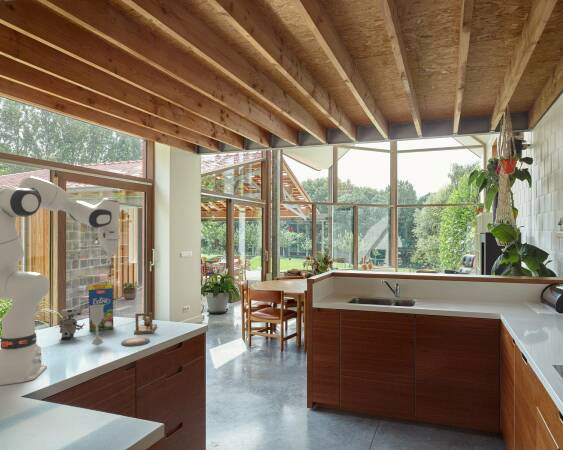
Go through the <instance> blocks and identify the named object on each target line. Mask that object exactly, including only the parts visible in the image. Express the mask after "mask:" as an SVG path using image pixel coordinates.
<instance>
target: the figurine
mask: <svg viewBox="0 0 563 450" xmlns="http://www.w3.org/2000/svg"><path fill="white" fill-rule="evenodd" d="M82 311H83V310H82V309H81V307H79V306H78V307H73V308H66V309H62V310H60V311H59V316H61V317H62V316H63V318H62V319H61V320H60V321H59V323H58V324H59V325H58V327H59V333H60V334H61V339H60V340H61V341H68V340H71V339H72V337H73V336H75V334H76V331H80V330H83V329H84V328H83V327H84V326H85V323H83V324H82V325H80V324H78V319H75V318H74V317H76V316H81V315H82Z"/></svg>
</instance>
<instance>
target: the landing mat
mask: <svg viewBox="0 0 563 450" xmlns="http://www.w3.org/2000/svg"><path fill="white" fill-rule="evenodd" d="M150 342H151V341H150V338H148V337H132V338H127V339H124V340H121V342H120V344H121V345H122V346H124V347H136V346H138V347H139V346H143V345H146V344H149V343H150Z"/></svg>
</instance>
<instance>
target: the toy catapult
mask: <svg viewBox="0 0 563 450" xmlns="http://www.w3.org/2000/svg"><path fill="white" fill-rule="evenodd" d="M139 317H142V320H143V321H144V322H143V324H139ZM156 328H158V324H157V323H153V312H145V313H144V312H143V313H135V330H134V331H133V335H148V334H153V332H154V331H155V330H156Z"/></svg>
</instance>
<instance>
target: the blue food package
mask: <svg viewBox="0 0 563 450" xmlns="http://www.w3.org/2000/svg"><path fill="white" fill-rule="evenodd" d="M113 294H114V293H113V283H112V282H111V283H99V284H97V283H96V284H89V285H88V314H89V315H88V320H89V323H88V324H89V326H88V329H89V332H96V325H94V324H93V322H92V320H91V317H90V308H89V306H91V305H99V304H102V305H104V307H103V318H102V321H101V323H100V324H99V325H98V328H99V329H98V331H104V330H105V331H107V330H111V329H114V295H113Z"/></svg>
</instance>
